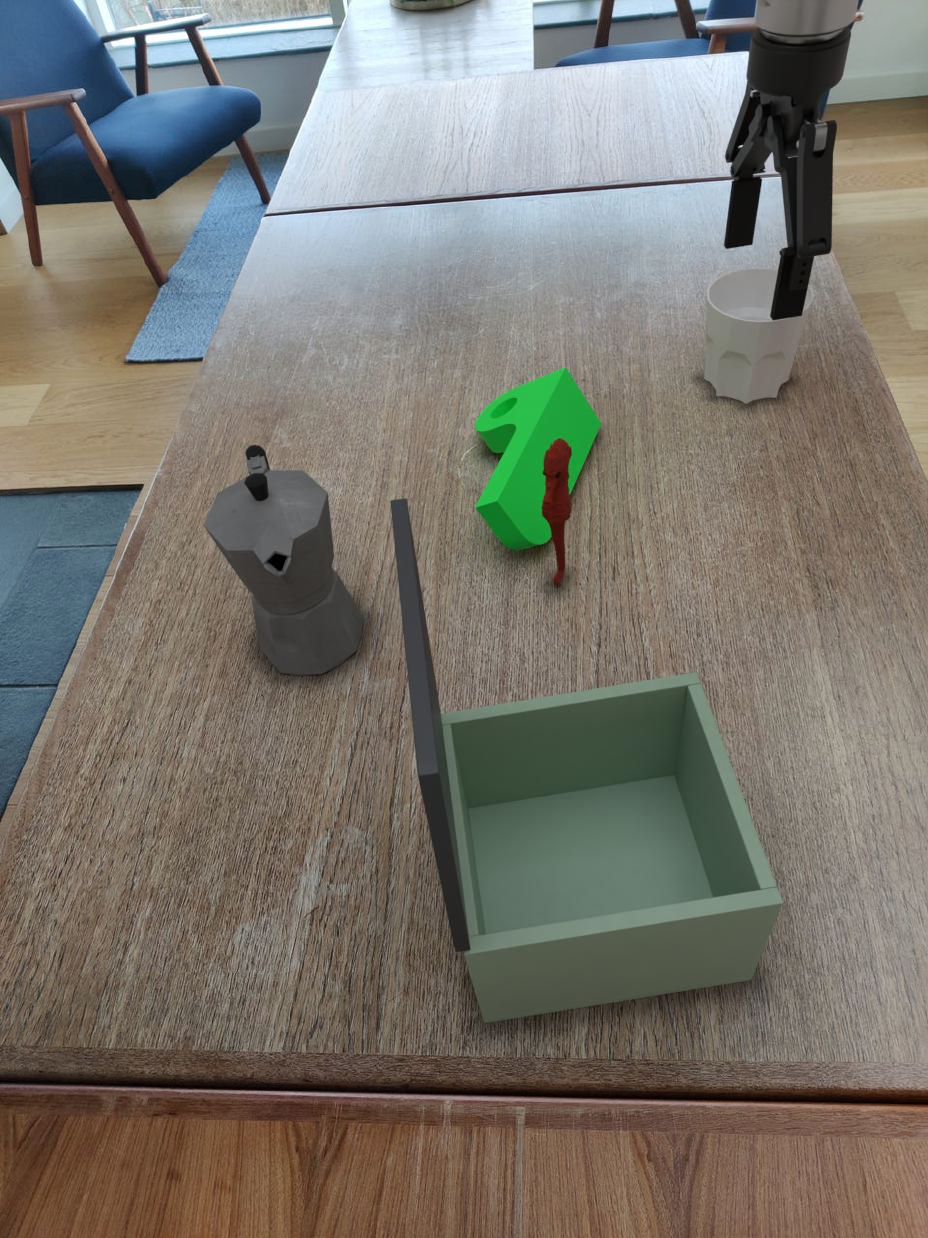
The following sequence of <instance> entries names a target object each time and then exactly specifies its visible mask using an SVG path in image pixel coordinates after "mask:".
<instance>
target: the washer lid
mask: <svg viewBox="0 0 928 1238" xmlns="http://www.w3.org/2000/svg"><path fill="white" fill-rule="evenodd" d="M389 503H390V513H391V521H392V522H391V523H392V532H393V533H392V534H393V543H394V551H395V561H396V572H397V583H398V592H399V600H400V601H399V602H400V611H401V620H402V621H401V622H402V631H403V642H404V652H405V661H406V672H407V683H408V692H409V701H410V702H409V703H410V713H411V722H412V731H413V732H412V733H413V742H414V750H415V751H414V753H415V763H416V770H417V771H416V773H417V779H418V783H419V788H420V793H421V798H422V802H423V807H424V811H425V817H426V820H427V825H428V829H429V835H430V841H431V845H432V849H433V854H434V859H435V863H436V867H437V872H438V877H439V882H440V887H441V891H442V896H443V900H444V905H445V910H446V914H447V919H448V924H449V929H450V933H451V938H452V942H453V943H452V944H453V948H454V952H455V953H460V952H464V951H468V950H470V949H471V948H470V941H469V933H468V925H467V917H466V909H465V901H464V893H463V885H462V877H461V870H460V862H459V854H458V846H457V838H456V830H455V822H454V814H453V806H452V799H451V791H450V783H449V775H448V767H447V759H446V751H445V743H444V735H443V727H442V720H441V706H440V699H439V693H438V687H437V686H438V685H437V680H436V673H435V668H434V661H433V656H432V655H433V654H432V649H431V642H430V636H429V630H428V622H427V616H426V611H425V605H424V598H423V592H422V585H421V579H420V573H419V566H418V560H417V554H416V548H415V547H416V546H415V542H414V535H413V529H412V523H411V517H410V511H409V504H408V503H409V502H408V498H405V497H403V498H398V499H397V498H396V499H391V500H390V502H389Z"/></svg>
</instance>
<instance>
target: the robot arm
mask: <svg viewBox="0 0 928 1238" xmlns="http://www.w3.org/2000/svg"><path fill="white" fill-rule="evenodd" d="M858 6H859V0H755V9H754V15H753V21H754V24H755V25H756V26H757V28H756V29H754V31H753V32H752V34H751V36H750V43H749V51H748V57H747V58H748V59H747V65H746V66H747V67H746V73H745V74H746V75H745V76H746V86H745V92H744V96H743V98H742V102H741V105H740V108H739V111H738V114H737V117H736V120H735V123H734V126H733V127H732V132H731V134H730V137H729V141H728V144H727V147H726V149H725V154H724V159H725V163H726V164H730V163H731V165H730V168H729V173H730V176H731V178H732V179H733V180H731V185H730V194H729V195H730V196H729V202H728V209H727V217H726V224H725V225H726V226H725V234H724V240H723V241H724V242H723V247H724V248H725V249H726V250H730V249H736V248H743V247H747V246H753V243H754V236H755V231H756V230H755V229H756V225H757V217H758V211H759V205H760V198H761V191H762V185H763V183H762V182H763V178H762V177H761V176H754V175H759V174H764V173H766V172H767V171H766V165H765V164H766V162H767V161H768V159H769V158H770V156H771V155H772V160H773V168H774V171H775V172H776V173H778V174H779V175H780V180H781V181H780V182H781V191H782V203H783V213H784V223H785V234H786V245H787V246H786V247H783V248H781V249H780V250H779V251H778V253H779V256H780V258H779V263H778V268H777V269H778V274H777V279H776V285H775V291H774V296H773V302H772V307H771V313H770V317H771V319H772V320H779V319H786V318H792V317H798V316H802V313H803V308H804V303H805V298H806V294H807V289H808V284H809V285H810V279H811V275H812V274H811V273H812V270H813V266H814V265H813V264H814V261H815V257H818V256H824V255H830V254H831V252H832V247H833V241H832V240H833V193H834V192H833V190H834V189H833V188H834V187H833V185H834V183H833V182H834V174H833V173H834V150H835V145H836V139H837V138H836V137H837V132H838V124H837V121H836V120H835V119H831V120H830V119H829V120H825V121H822V120H821V117H820V107H821V98H822V97H823V96H824V95H825V94H826V93H827V92H828V91H829V90H831V89H833V88H834V87H836V86H837V85H839V83H840V82H841V81H842V79H843V76H844V72H845V68H846V62H847V57H848V52H849V48H850V44H851V43H850V42H851V38H852V31H851V30H850V27H849V25H851V24H852V23H853V22H854V21H855V18H856V15H857V10H858Z"/></svg>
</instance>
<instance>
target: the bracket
mask: <svg viewBox="0 0 928 1238" xmlns="http://www.w3.org/2000/svg"><path fill="white" fill-rule="evenodd" d="M601 426H602V422H601V420H600V419H599V416H597V414H596V413H595V411H594V409H593V408H592V406H591V405H590V403H589V401H588V400H587V398H586V397H585V394H584V393H583V392H582V390H581V389H580V387H579V385H578V384H577V382H576V381H575V379H574V378H573V376H572V375H571V373H570V371H569V369H568V368H567V367H566V366H565V367H562V368H560V369H558V370H555V371H552V372H550V373H548V374H546V375H543V376H540V377H538V378H536V379H533V380H531V381H528V382H526V383H523V384H520V385H518V386H515V387H514V388H511V389H509V390H508V391H505V392H504V393H502V394H501V395H499V396H498V397H497V398H495V399H494V400H493V401H491V403H489V404H487V406H486V407H485V408H484V409H483V410H482V412H481V413H480V414H479V416H478V417H477V419H476V421H475V424H474V429H475V430H476V432H477V433H478V434H479V436H480V437H481V439H482V440H483V441H484V443H485V444H486V446H487V447H488V449H489V450H490V451H491V452H492V453H494V454H502V456H501V458H500V460H499V462H498V463H497V464H496V465H497V466H496V467H495V469H494V471H493V473H492V474H491V476H490V478H489V480H488V482H487V484H486V486H485V488H484V490H483V491H482V494H481V495H480V498H479V499H478V501H477V503H476V505H475V507H474V509H475V510H476V511H477V513H478V514H479V515H480V517H481V518H482V519H483V520H484V522H485V523H486V524H487V525H488V527H489V528H490V529H491V531H492V533H494V535H495V536H496V537H497V538H498V540H499V541H500V542H501V543H502V544H503V545H504V546H505V547H506V548H507V549H510V550H513V551H521V550H525V549H529V548H532V547H538V546H540V545H544V544H546V543H548V542H549V541H550V539H552V535H551V529H550V526H549V524H548V522H547V520H546V519H545V518H544V517H543V516H542V509H541V508H542V503H543V502H542V501H543V499H544V495H545V489H546V487H545V479H546V478H545V475H543V470H544V464H543V463H544V457H545V453H546V451H547V450H549V449H550V445H551V444H553V442H554V441H555V440H557V439H559V438H561V439H563V440H565V441H566V442H567V443H568V444H569V447H570V446H571V449H572V456H571V458H570V460H569V467H568V470H569V471H568V472H569V479H568V487H569V495H570V496H571V493H572V491H573V489H574V487H575V484H576V482H577V481H578V478H579V475H580V473H581V471H582V469H583V466H584V464H585V463H586V460H587V457H588V455H589V453H590V451H591V448H592V446H593V444H594V442H595V439H596V437H597V435H598V432H599V431H600V428H601Z"/></svg>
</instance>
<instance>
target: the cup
mask: <svg viewBox="0 0 928 1238" xmlns="http://www.w3.org/2000/svg"><path fill="white" fill-rule="evenodd" d="M777 274H778V268H771V267H746V268H739V269H736V270H732V271H729V272H726V273H723V274H722V275H719V276H718V277H716V278H715V279H714V280H712V282H711V283H710V284H709V286H708V287H707V289H706V290H707V291H706V295H705V297H706V299H705V301H706V303H705V344H704V345H705V347H704V373H703V374H704V377H703V379H704V380H705V381H707V382H709V383H710V384H711V385H712V387H713V388H714V390H715V397H725V398H731V399H733V400H737V401H739V402H742V403H743V404H745V405H748V404H749V403H751V402H753V401H757V400H761V399H767V398H773V399H777V397H778V394H779V389H780V387H781V386H782V385H783V384H785V383H787V382H788V381H789V379H790V375H791V372H792V370H793V369H792V368H793V365H794V362H795V359H796V355H797V351H798V348H799V345H800V341H801V339H802V335H803V332H804V329H805V326H806V324H807V320H808V317H809V315H810V312H811V308H812V305H813V302H814V297H815V292H814V291H813V287H812V286H811V285H810V283H809V284H808V289H807V294H806V298H805V303H804V308H803V313H802V316H798V317H792V318H786V319H779V320H772V319H771V317H770V313H771V307H772V302H773V296H774V291H775V285H776V279H777Z"/></svg>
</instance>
